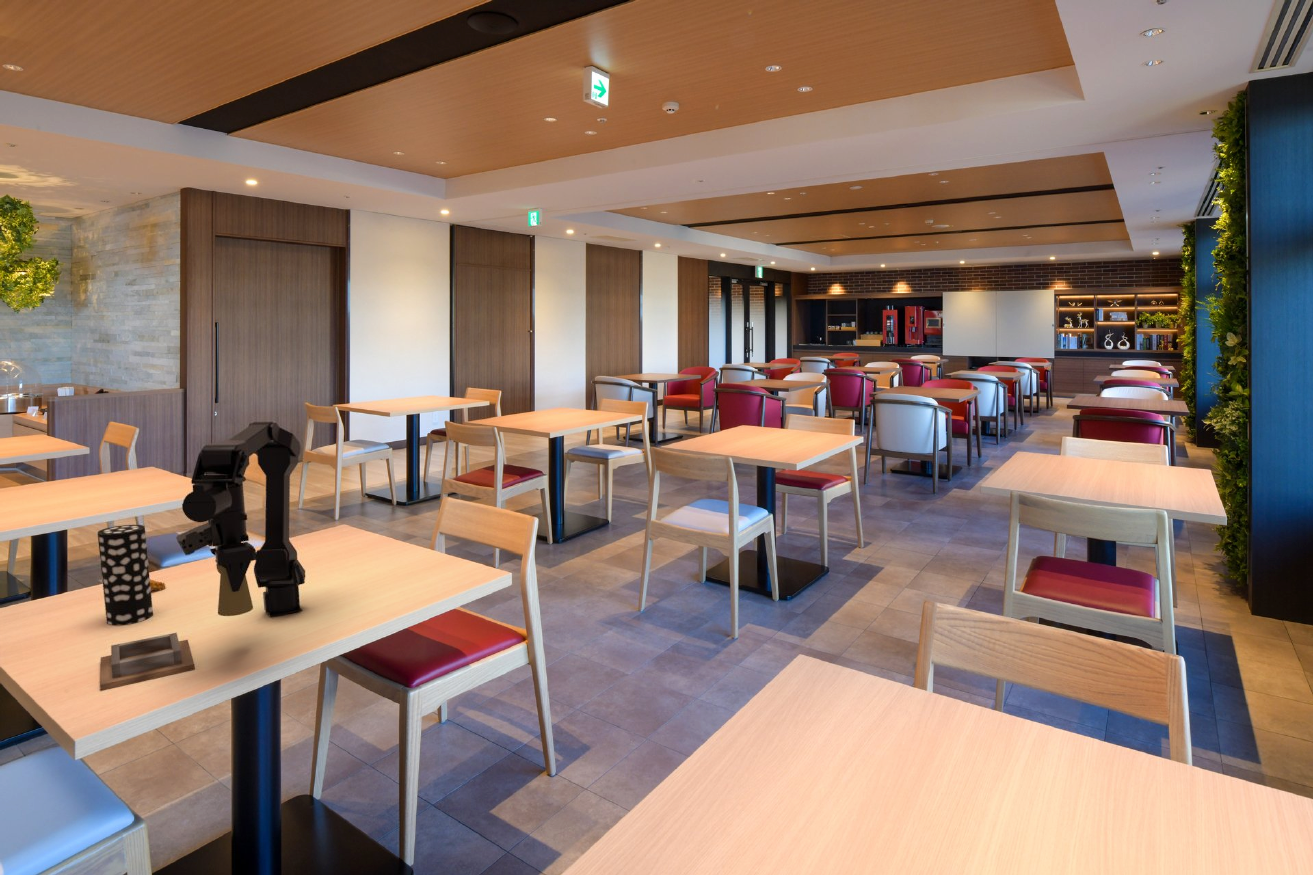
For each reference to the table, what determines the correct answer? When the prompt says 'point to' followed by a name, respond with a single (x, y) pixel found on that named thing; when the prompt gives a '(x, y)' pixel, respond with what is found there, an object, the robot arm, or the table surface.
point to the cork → (233, 596)
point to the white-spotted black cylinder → (125, 574)
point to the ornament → (156, 585)
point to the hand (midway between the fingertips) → (233, 587)
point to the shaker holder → (145, 660)
